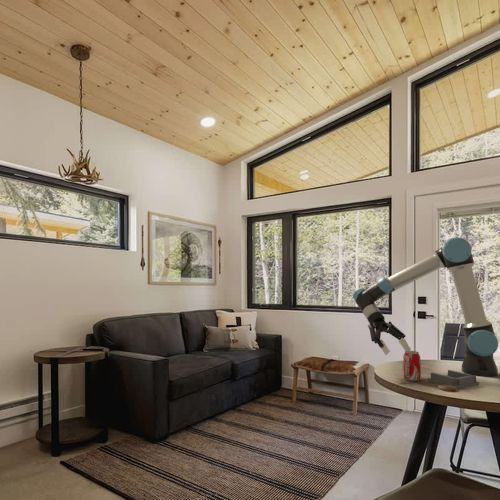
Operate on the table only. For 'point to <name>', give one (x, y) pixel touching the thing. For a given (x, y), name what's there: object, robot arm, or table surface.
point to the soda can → (412, 365)
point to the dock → (454, 379)
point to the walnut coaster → (447, 387)
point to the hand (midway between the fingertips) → (398, 352)
